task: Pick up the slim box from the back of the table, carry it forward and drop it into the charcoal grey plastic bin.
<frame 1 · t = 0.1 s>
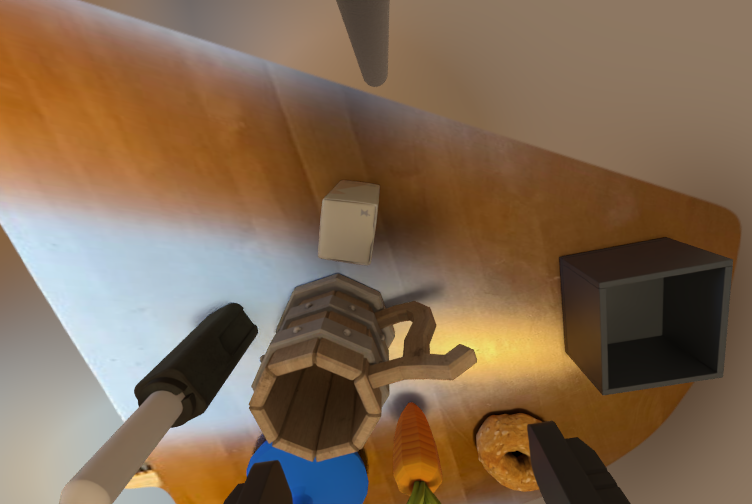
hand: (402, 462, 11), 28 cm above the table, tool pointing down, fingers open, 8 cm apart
bin: (612, 297, 40), on the table
vase: (312, 460, 48), on the table
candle: (233, 325, 42), on the table
bagel: (511, 438, 46), on the table
box: (358, 206, 38), on the table
tankard: (366, 316, 42), on the table
carrot: (410, 402, 45), on the table
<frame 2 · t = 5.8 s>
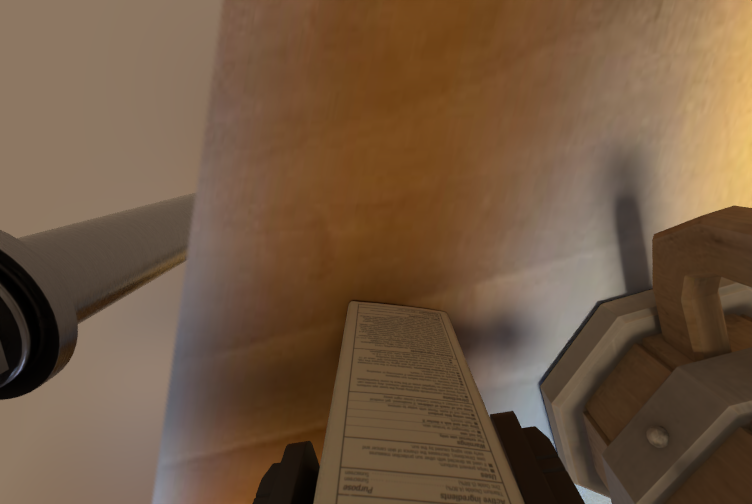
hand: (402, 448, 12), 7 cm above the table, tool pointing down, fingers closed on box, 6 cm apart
box: (395, 339, 18), on the table, touching gripper
tankard: (657, 330, 18), on the table
when the fingers open (13 cm above the table, at t = 12.8 s): box drops 6 cm, resting on bin.
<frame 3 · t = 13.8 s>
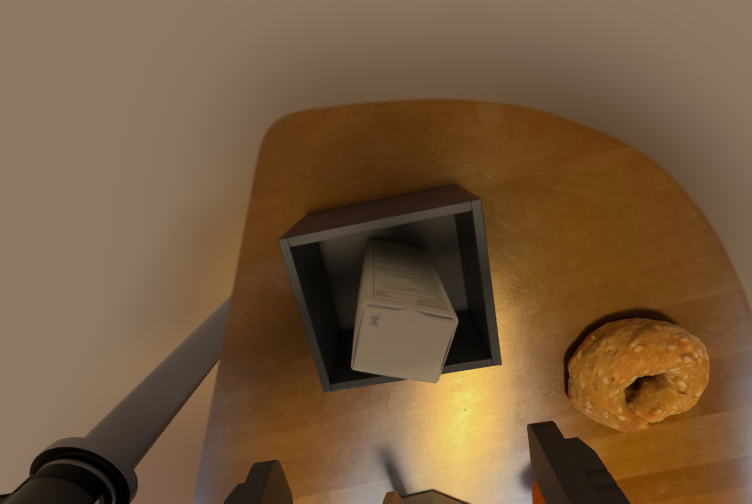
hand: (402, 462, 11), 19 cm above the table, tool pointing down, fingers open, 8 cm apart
bin: (393, 265, 29), on the table
bagel: (617, 361, 32), on the table
box: (394, 265, 29), point 1 cm above the table, touching bin
carrot: (537, 473, 36), on the table
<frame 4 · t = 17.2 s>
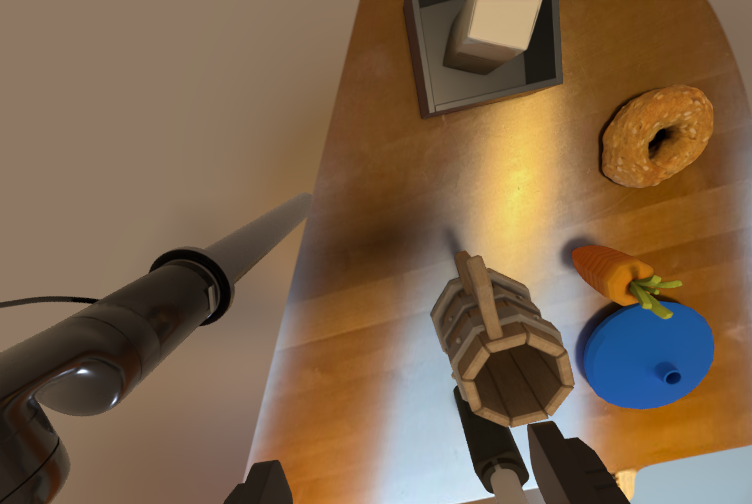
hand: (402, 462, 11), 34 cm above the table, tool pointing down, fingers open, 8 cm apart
bin: (468, 52, 38), on the table
vase: (631, 344, 48), on the table
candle: (474, 393, 51), on the table
bagel: (640, 139, 40), on the table
box: (470, 50, 37), resting on bin
tankard: (473, 291, 46), on the table
carrot: (573, 251, 44), on the table
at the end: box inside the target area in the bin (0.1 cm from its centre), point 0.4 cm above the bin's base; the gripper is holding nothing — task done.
